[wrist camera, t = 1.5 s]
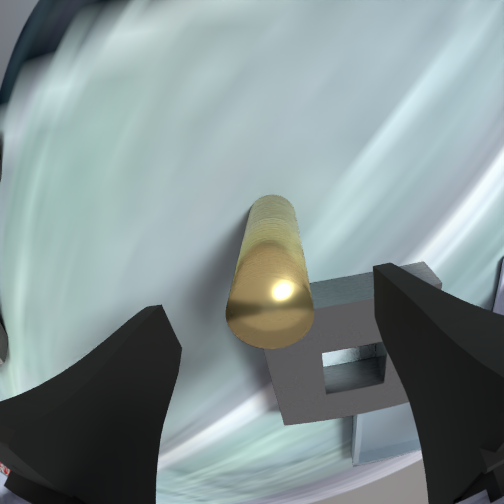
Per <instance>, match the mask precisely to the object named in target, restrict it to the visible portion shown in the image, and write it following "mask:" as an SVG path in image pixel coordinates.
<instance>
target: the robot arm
mask: <svg viewBox="0 0 504 504" xmlns="http://www.w3.org/2000/svg"><path fill="white" fill-rule="evenodd" d="M373 279H374V317H375V320H376V323H377V326H378V329H379V332H380V335H381V338H382V341H383V343H384V346H385V348H386V350H387V352H388V354H389V356H390V359H391V361H392V363H393V365H394V367H395V369H396V372H397V374H398V376H399V378H400V380H401V383H402V385H403V387H404V389H405V392H406V395H407V397H408V400H409V403H410V406H411V410H412V413H413V417H414V421H415V424H416V428H417V433H418V437H419V441H420V446H421V451H422V456H423V461H424V467H425V474H426V482H427V491H428V502H429V504H504V259H503V263H502V269H501V275H500V280H499V285H498V290H497V295H496V299H495V304H494V308H493V312H491V311H488V310H486V309H483V308H481V307H478V306H475V305H473V304H470V303H468V302H465V301H463V300H461V299H459V298H457V297H454V296H452V295H450V294H448V293H446V292H444V291H442V290H440V289H438V288H436V287H434V286H433V285H431V284H429V283H427V282H425V281H423V280H422V279H420V278H418V277H416V276H415V275H413V274H411V273H409V272H407V271H406V270H404V269H402V268H400V267H398V266H396V265H394V264H392V263H386V264H381V265H377V266H373ZM181 351H182V347H181V345H180V343H179V341H178V339H177V337H176V335H175V333H174V331H173V329H172V326H171V324H170V322H169V320H168V318H167V316H166V313H165V311H164V309H163V307H162V305H156V306H149V307H146V308H144V309H143V310H141V311H140V312H138V313H137V314H136V315H135V316H133V317H132V318H131V319H130V320H128V321H127V322H126V323H125V324H124V325H122V326H121V327H120V328H119V329H118V330H117V331H115V332H114V333H113V334H112V335H111V336H110V337H108V338H107V339H106V340H105V341H104V342H102V343H101V344H100V345H99V346H97V347H96V348H95V349H94V350H92V351H91V352H90V353H89V354H87V355H86V356H85V357H83V358H82V359H81V360H79V361H78V362H77V363H75V364H74V365H72V366H71V367H69V368H68V369H66V370H65V371H63V372H62V373H60V374H59V375H57V376H55V377H53V378H51V379H50V380H48V381H46V382H44V383H43V384H41V385H39V386H37V387H35V388H33V389H31V390H29V391H27V392H24V393H22V394H19V395H17V396H15V397H12V398H9V399H6V400H3V401H0V462H1V463H2V464H3V465H5V466H6V467H7V468H8V469H9V470H11V471H10V473H9V475H6V474H5V473H3V472H2V471H0V504H156V475H157V464H158V454H159V446H160V439H161V433H162V429H163V424H164V420H165V417H166V413H167V410H168V407H169V403H170V400H171V397H172V393H173V390H174V386H175V383H176V379H177V376H178V372H179V366H180V359H181Z"/></svg>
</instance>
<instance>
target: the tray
mask: <svg viewBox="0 0 504 504" xmlns="http://www.w3.org/2000/svg"><path fill="white" fill-rule="evenodd" d="M419 450H421V446H420V441H419V437H418V433H417V428H416V424H415V421H414V417H413V413H412V410H411V406H410V403H409V402H408V403H405V404H401V405H397V406H393V407H389V408H385V409H381V410H376V411H372V412H367V413H363V414H358V415H353V429H352V446H351V455H352V462H353V467H354V466H360V465H364V464H369V463H374V462H378V461H382V460H386V459H390V458H394V457H398V456H402V455H405V454H409V453H412V452H415V451H419Z"/></svg>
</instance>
